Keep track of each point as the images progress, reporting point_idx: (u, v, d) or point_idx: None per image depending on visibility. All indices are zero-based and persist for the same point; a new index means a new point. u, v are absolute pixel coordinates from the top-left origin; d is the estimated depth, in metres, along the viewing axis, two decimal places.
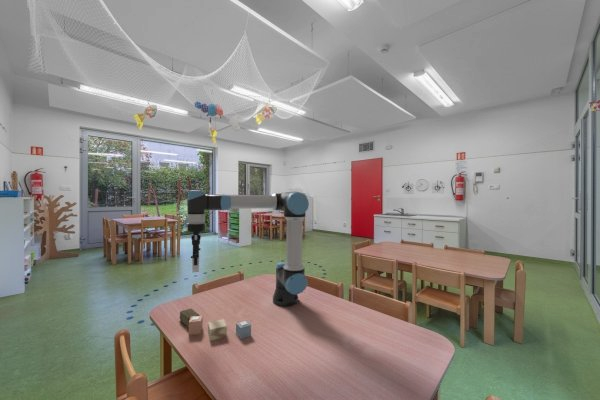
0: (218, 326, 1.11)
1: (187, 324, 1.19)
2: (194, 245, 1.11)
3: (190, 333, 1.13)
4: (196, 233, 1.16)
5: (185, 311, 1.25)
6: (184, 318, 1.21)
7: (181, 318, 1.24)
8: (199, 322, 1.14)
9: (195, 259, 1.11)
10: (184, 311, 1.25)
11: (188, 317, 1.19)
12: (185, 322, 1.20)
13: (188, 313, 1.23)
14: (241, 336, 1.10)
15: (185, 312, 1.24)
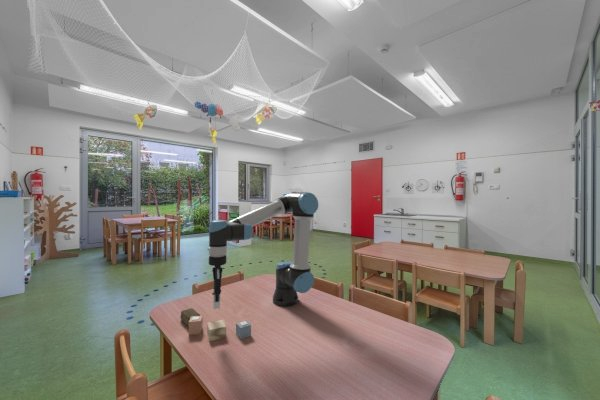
0: (217, 326, 1.11)
1: (188, 324, 1.19)
2: (216, 284, 1.08)
3: (190, 333, 1.13)
4: (218, 267, 1.09)
5: (186, 311, 1.25)
6: (185, 318, 1.22)
7: (182, 318, 1.24)
8: (199, 322, 1.14)
9: (217, 296, 1.11)
10: (185, 311, 1.25)
11: (189, 317, 1.20)
12: (186, 322, 1.21)
13: (188, 313, 1.23)
14: (241, 336, 1.10)
15: (186, 312, 1.24)
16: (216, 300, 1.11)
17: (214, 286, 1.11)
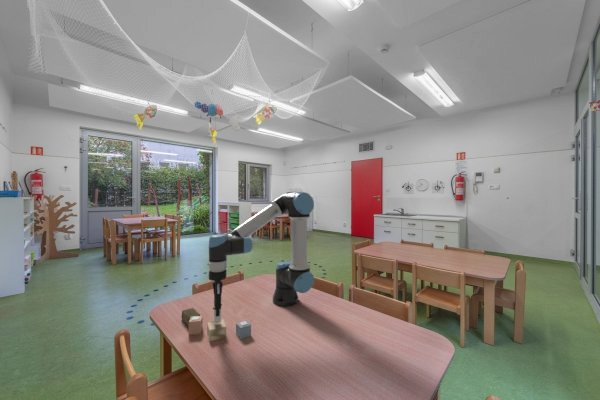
0: (217, 326, 1.11)
1: (188, 324, 1.20)
2: (217, 299, 1.08)
3: (190, 333, 1.13)
4: (218, 282, 1.10)
5: (187, 310, 1.26)
6: (185, 317, 1.22)
7: (183, 317, 1.25)
8: (199, 322, 1.14)
9: (217, 310, 1.11)
10: (186, 310, 1.26)
11: (189, 317, 1.20)
12: (186, 321, 1.21)
13: (189, 313, 1.24)
14: (241, 336, 1.10)
15: (186, 311, 1.25)
16: (217, 315, 1.11)
17: None
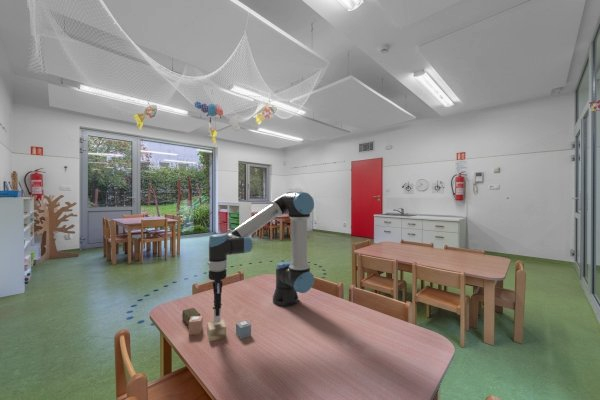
0: (217, 326, 1.11)
1: (188, 323, 1.20)
2: (216, 299, 1.08)
3: (190, 333, 1.13)
4: (218, 281, 1.09)
5: (187, 310, 1.26)
6: (186, 317, 1.22)
7: (183, 317, 1.25)
8: (199, 322, 1.14)
9: (217, 310, 1.11)
10: (186, 310, 1.26)
11: (189, 316, 1.20)
12: (186, 321, 1.21)
13: (189, 312, 1.24)
14: (241, 336, 1.10)
15: (187, 311, 1.25)
16: (216, 314, 1.11)
17: None
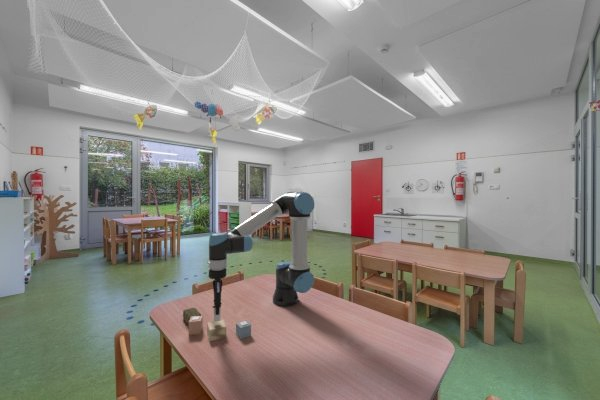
0: (218, 326, 1.11)
1: None
2: (216, 298, 1.08)
3: (190, 333, 1.13)
4: (218, 280, 1.09)
5: (188, 310, 1.26)
6: (186, 317, 1.22)
7: (184, 317, 1.25)
8: (199, 322, 1.14)
9: (217, 309, 1.11)
10: (187, 310, 1.26)
11: (190, 316, 1.20)
12: (187, 321, 1.21)
13: (190, 312, 1.24)
14: (241, 336, 1.10)
15: (188, 311, 1.25)
16: (216, 313, 1.11)
17: None
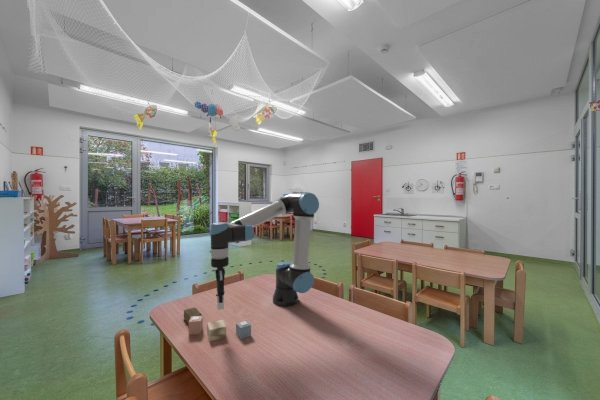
0: (217, 326, 1.11)
1: None
2: (219, 286, 1.10)
3: (190, 333, 1.13)
4: (221, 269, 1.11)
5: (189, 310, 1.26)
6: (187, 317, 1.23)
7: (185, 317, 1.25)
8: (199, 322, 1.14)
9: (220, 297, 1.13)
10: (188, 310, 1.27)
11: (190, 316, 1.20)
12: (188, 321, 1.22)
13: (191, 312, 1.24)
14: (241, 336, 1.10)
15: (188, 311, 1.25)
16: (220, 301, 1.13)
17: None
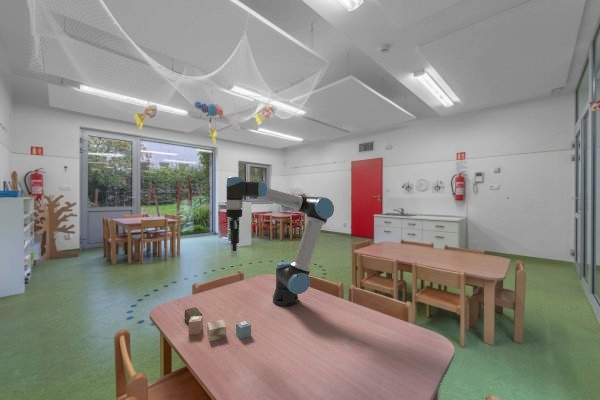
0: (217, 326, 1.11)
1: None
2: (234, 233, 1.18)
3: (190, 333, 1.13)
4: (235, 218, 1.19)
5: (189, 310, 1.27)
6: (188, 317, 1.23)
7: (185, 316, 1.26)
8: (199, 322, 1.14)
9: (234, 245, 1.21)
10: (188, 309, 1.27)
11: None
12: (188, 321, 1.22)
13: (191, 312, 1.24)
14: (241, 336, 1.10)
15: (189, 311, 1.26)
16: (234, 249, 1.21)
17: (232, 236, 1.21)
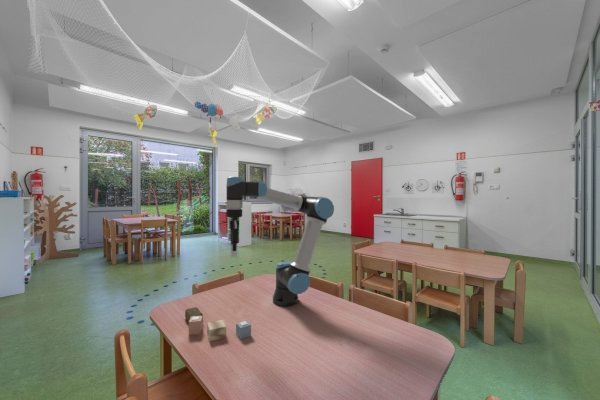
0: (218, 326, 1.11)
1: None
2: (234, 233, 1.18)
3: (190, 333, 1.13)
4: (235, 218, 1.19)
5: (190, 309, 1.27)
6: (188, 316, 1.23)
7: (186, 316, 1.26)
8: (199, 322, 1.14)
9: (234, 245, 1.21)
10: (189, 309, 1.27)
11: None
12: None
13: (192, 312, 1.25)
14: (241, 336, 1.10)
15: (190, 310, 1.26)
16: (234, 249, 1.21)
17: (232, 236, 1.21)
